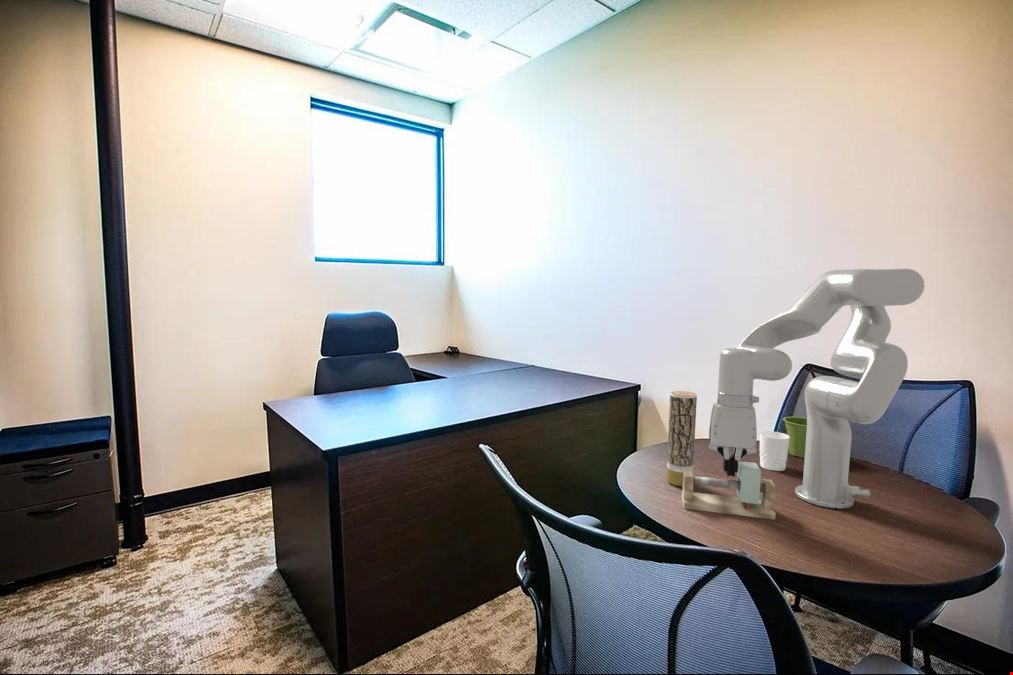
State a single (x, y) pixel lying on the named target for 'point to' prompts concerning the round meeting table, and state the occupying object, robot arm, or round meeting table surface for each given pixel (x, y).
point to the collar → (748, 482)
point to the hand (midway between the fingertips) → (730, 474)
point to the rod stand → (727, 497)
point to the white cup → (773, 450)
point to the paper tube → (681, 435)
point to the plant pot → (796, 435)
